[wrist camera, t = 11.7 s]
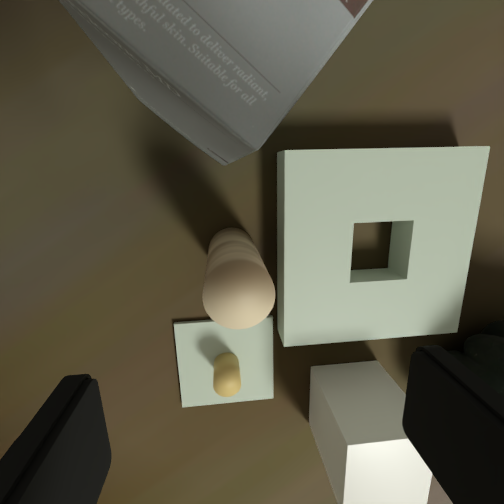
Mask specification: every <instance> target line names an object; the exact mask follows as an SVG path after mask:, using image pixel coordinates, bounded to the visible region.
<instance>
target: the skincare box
mask: <svg viewBox="0 0 504 504" xmlns="http://www.w3.org/2000/svg"><path fill="white" fill-rule="evenodd" d="M59 1H60V3H61V4H62V5H63V6H64V7H65V9H66V10H67V11H68V12H69V14H70V15H71V16H72V17H73V19H74V20H75V21H76V22H77V23H78V25H79V26H80V27H81V28H82V30H83V31H84V32H85V33H86V35H87V36H88V37H89V38H90V40H91V41H92V42H93V43H94V44H95V46H96V47H97V48H98V49H99V51H100V52H101V53H102V54H103V56H104V57H105V58H106V59H107V61H108V62H109V63H110V65H111V66H112V67H113V68H114V70H115V71H116V72H117V73H118V74H119V76H120V77H121V78H122V80H123V81H124V82H125V83H126V85H127V86H128V87H129V88H130V90H131V91H132V92H133V93H134V95H135V96H136V97H137V99H138V100H140V101H141V102H142V103H143V104H144V105H145V106H147V107H148V108H149V109H150V110H151V111H153V112H154V113H155V114H156V115H157V116H159V117H160V118H161V119H162V120H164V121H165V122H166V123H167V124H168V125H170V126H171V127H172V128H173V129H175V130H176V131H177V132H178V133H180V134H181V135H182V136H184V137H185V138H186V139H187V140H189V141H190V142H191V143H193V144H194V145H195V146H197V147H198V148H199V149H201V150H202V151H204V152H205V153H206V154H208V155H209V156H211V157H212V158H213V159H215V160H216V161H218V162H219V163H220V164H222V165H227V164H229V163H231V162H233V161H236V160H238V159H240V158H242V157H244V156H246V155H248V154H250V153H252V152H254V151H257V150H258V149H259V148H260V147H261V146H262V145H263V144H264V143H265V142H266V140H267V139H268V138H269V136H270V135H271V134H272V133H273V131H274V130H275V129H276V127H277V126H278V125H279V124H280V122H281V121H282V120H283V118H284V117H285V116H286V115H287V113H288V112H289V111H290V110H291V108H292V107H293V106H294V104H295V103H296V102H297V100H298V99H299V98H300V96H301V95H302V94H303V93H304V91H305V90H306V89H307V87H308V86H309V85H310V83H311V82H312V81H313V79H314V78H315V77H316V75H317V74H318V73H319V71H320V70H321V69H322V68H323V66H324V65H325V64H326V62H327V61H328V60H329V58H330V57H331V56H332V54H333V53H334V52H335V50H336V49H337V48H338V46H339V45H340V44H341V42H342V41H343V40H344V38H345V37H346V36H347V34H348V33H349V32H350V30H351V29H352V28H353V26H354V25H355V24H356V22H357V21H358V20H359V18H360V17H361V16H362V14H363V13H364V12H365V10H366V9H367V8H368V6H369V5H370V4H371V2H372V1H373V0H59Z"/></svg>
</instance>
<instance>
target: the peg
mask: <svg viewBox="0 0 504 504" xmlns="http://www.w3.org/2000/svg"><path fill="white" fill-rule="evenodd" d="M274 302H275V287H274V284H273V281H272V279H271V277H270V275H269V273H268V271H267V269H266V267H265V265H264V263H263V261H262V259H261V257H260V255H259V253H258V250H257V248H256V246H255V244H254V242H253V240H252V238H251V237H250V236H249V234H248V233H246V232H245V231H243V230H241V229H239V228H225V229H222V230H220V231H219V232H217V233H216V234H215V235H214V236H213V238H212V239H211V241H210V244H209V250H208V258H207V265H206V273H205V281H204V288H203V304H204V307H205V310H206V312H207V313H208V315H209V316H210V317H211V319H212V320H213V321H215V322H216V323H217V324H219V325H221V326H223V327H226V328H229V329H246V328H250V327H253V326H255V325H257V324H259V323H260V322H261V321H263V320H264V319H265V318H266V317H267V316H268V314H269V313H270V311H271V310H272V308H273V305H274Z"/></svg>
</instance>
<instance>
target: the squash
mask: <svg viewBox="0 0 504 504" xmlns="http://www.w3.org/2000/svg"><path fill="white" fill-rule="evenodd" d="M463 351H464V352H461V351H456V350H451V351H447V352H448V353H450V354H451V355H452V356H453V357H455V358H456V359H457V360H458V361H460V362H461V363H462V364H463V365H464V366H466V367H467V368H468V369H469V370H471V371H472V372H473V373H474V374H476V375H477V376H478V377H479V378H481V379H482V380H483V381H484V382H485V383H487V384H488V385H489V386H490V387H492V388H493V389H494V390H495V391H497V392H498V393H499V394H500V395H502V396H503V397H504V320H500V321H495V322H492V323H490V324H488V325H487V326H486V327H485V328H484V329H483V331H482V332H481V334H476V335H473V336H470V337H469V338H467V340H466V341H465V342H464V347H463Z"/></svg>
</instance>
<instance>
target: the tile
mask: <svg viewBox="0 0 504 504" xmlns="http://www.w3.org/2000/svg"><path fill="white" fill-rule="evenodd" d="M174 332H175V341H176V351H177V360H178V370H179V379H180V389H181V398H182V407H190V406H200V405H210V404H220V403H230V402H241V401H251V400H261V399H271V398H273V316H272V315H268V316H267V317H266V318H265V319H264V320H263V321H261V322H260V323H259V324H257V325H255V326H253V327H250V328H246V329H229V328H226V327H223V326H221V325H219V324H217V323H216V322H215V321H213V320H199V321H185V322H174Z"/></svg>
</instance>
